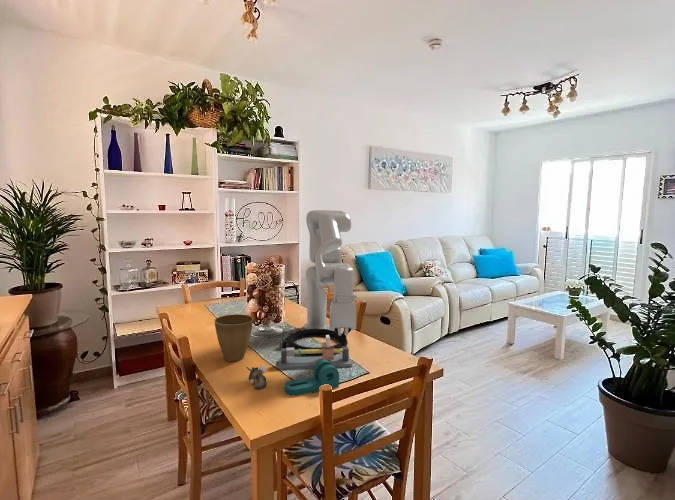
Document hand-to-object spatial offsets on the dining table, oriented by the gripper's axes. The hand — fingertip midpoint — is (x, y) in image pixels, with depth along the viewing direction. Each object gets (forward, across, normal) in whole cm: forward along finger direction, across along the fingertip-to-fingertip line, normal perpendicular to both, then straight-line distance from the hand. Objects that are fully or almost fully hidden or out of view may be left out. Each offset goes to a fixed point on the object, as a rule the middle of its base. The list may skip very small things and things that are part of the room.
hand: (342, 344), depth 148 cm
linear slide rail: (+8, +11, 0) cm, 13 cm away
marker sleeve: (+5, +6, 0) cm, 8 cm away
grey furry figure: (+8, +32, +15) cm, 36 cm away
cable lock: (+8, +10, -20) cm, 24 cm away
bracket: (+8, +14, +19) cm, 25 cm away
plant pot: (+8, +42, -9) cm, 44 cm away
